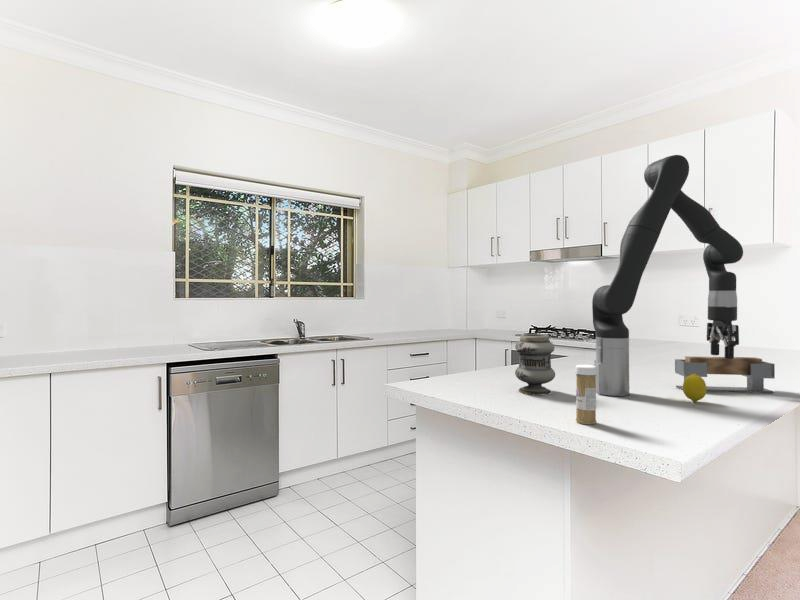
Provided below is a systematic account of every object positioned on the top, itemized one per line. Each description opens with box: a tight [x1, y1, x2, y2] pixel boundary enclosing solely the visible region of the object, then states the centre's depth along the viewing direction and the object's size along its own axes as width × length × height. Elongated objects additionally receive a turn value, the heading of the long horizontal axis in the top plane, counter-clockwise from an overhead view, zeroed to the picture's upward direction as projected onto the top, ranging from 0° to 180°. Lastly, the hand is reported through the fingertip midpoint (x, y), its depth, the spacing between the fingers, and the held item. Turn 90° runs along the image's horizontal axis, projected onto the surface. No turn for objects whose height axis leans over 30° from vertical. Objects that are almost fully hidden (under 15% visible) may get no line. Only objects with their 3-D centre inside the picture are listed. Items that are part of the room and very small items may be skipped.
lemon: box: [682, 374, 707, 403], centre depth 124 cm, size 6×6×8 cm
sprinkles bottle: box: [575, 364, 597, 425], centre depth 105 cm, size 5×5×14 cm
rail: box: [684, 356, 763, 376], centre depth 140 cm, size 20×4×5 cm, turn 79°
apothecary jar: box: [514, 333, 556, 396], centre depth 140 cm, size 12×12×18 cm
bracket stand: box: [674, 358, 776, 394], centre depth 140 cm, size 25×7×9 cm, turn 79°
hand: (721, 356), depth 140 cm, fingers open, 8 cm apart
